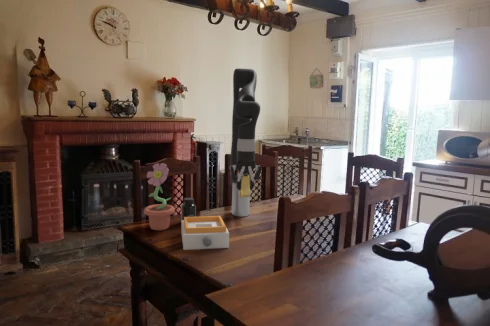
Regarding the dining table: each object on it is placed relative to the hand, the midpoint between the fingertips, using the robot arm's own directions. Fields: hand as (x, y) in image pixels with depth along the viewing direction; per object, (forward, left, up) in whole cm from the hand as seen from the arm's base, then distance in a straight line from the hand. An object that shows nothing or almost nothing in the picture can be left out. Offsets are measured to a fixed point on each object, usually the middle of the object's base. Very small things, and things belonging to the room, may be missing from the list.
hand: (244, 189), depth 160 cm
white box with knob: (+2, -17, -22) cm, 27 cm away
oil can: (0, 0, -3) cm, 3 cm away
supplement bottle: (-25, -22, -22) cm, 40 cm away
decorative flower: (-19, -36, -22) cm, 46 cm away
